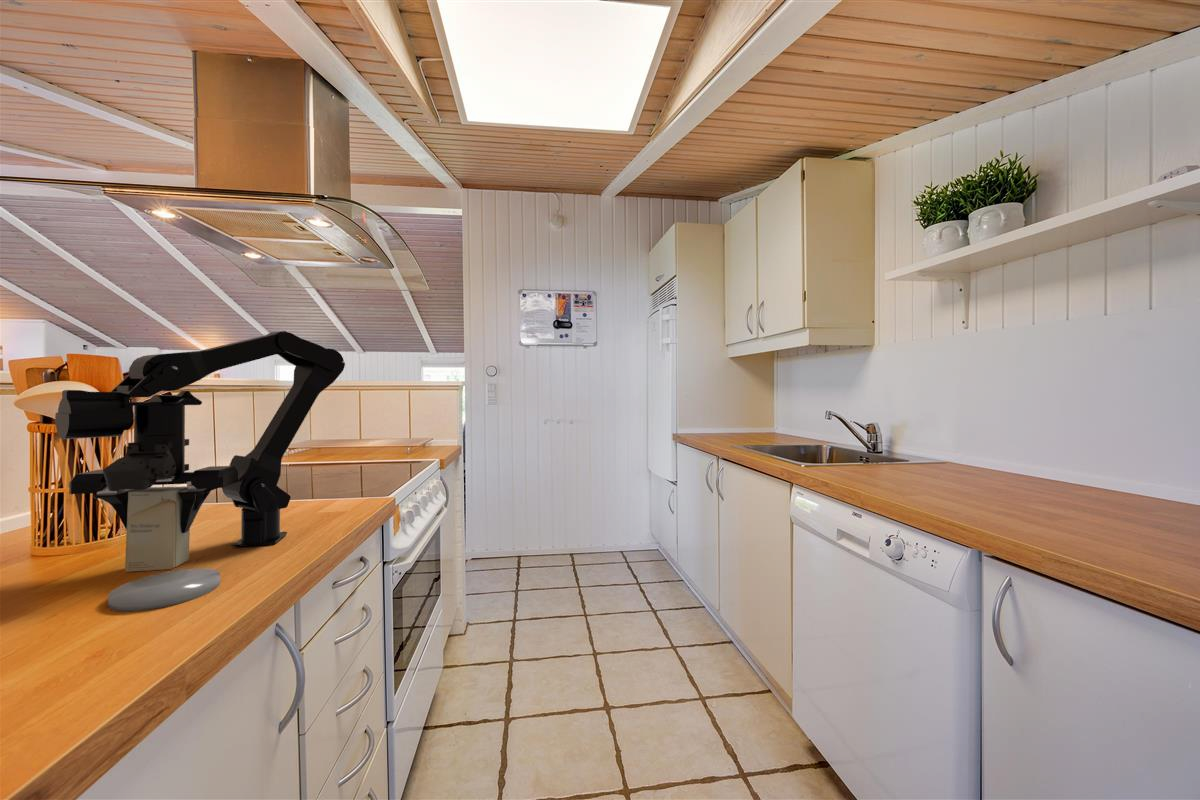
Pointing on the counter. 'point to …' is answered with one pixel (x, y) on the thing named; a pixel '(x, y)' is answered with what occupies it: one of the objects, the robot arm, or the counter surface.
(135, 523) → the skincare box
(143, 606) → the coaster
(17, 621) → the counter surface
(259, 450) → the robot arm
